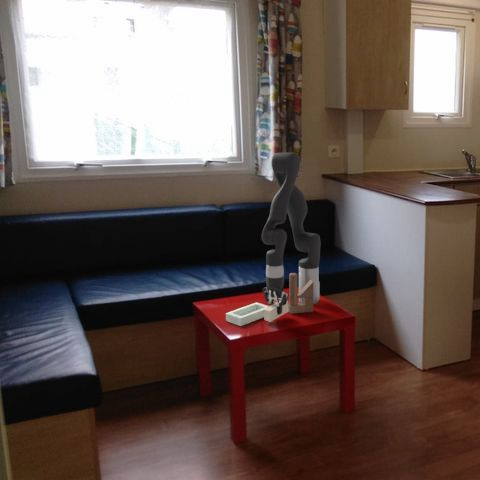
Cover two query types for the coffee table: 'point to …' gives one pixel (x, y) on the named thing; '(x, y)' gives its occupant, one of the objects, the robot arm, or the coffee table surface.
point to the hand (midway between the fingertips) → (275, 312)
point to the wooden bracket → (300, 296)
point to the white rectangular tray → (246, 314)
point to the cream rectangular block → (274, 311)
